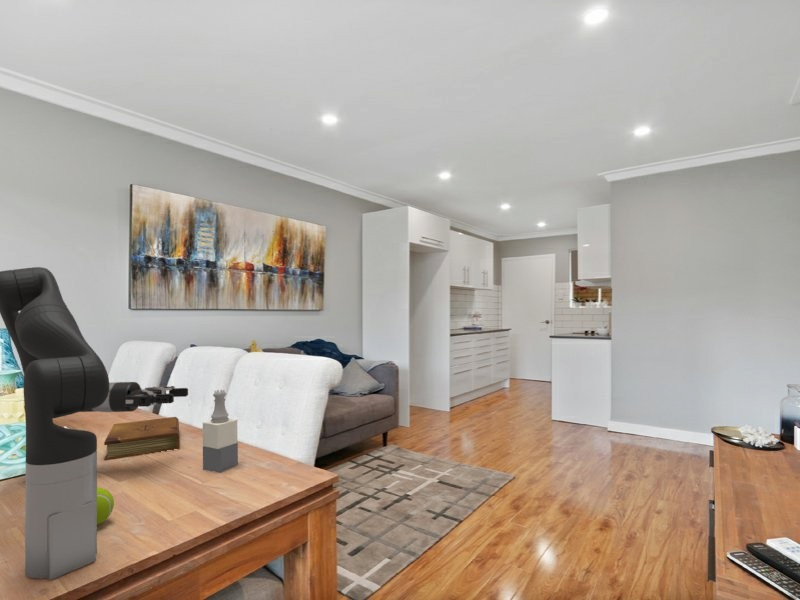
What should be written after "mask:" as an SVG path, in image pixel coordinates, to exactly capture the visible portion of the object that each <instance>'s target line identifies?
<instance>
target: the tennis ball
mask: <svg viewBox="0 0 800 600" xmlns="http://www.w3.org/2000/svg"><path fill="white" fill-rule="evenodd" d="M114 506H115V499H114V497H113V494H112V492H110V491H109V490H107V489H106V488H103V487H99V486H97V526H99V525H100V524H102V523H103V522H105V521H106V520H107V519H108V518H109V517H110V515H111V514H112V512H113V510H114Z"/></svg>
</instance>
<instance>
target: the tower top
mask: <svg viewBox="0 0 800 600" xmlns="http://www.w3.org/2000/svg"><path fill="white" fill-rule="evenodd" d="M235 443H238V419H235V418H229V419H228V421H226V422H223V423H212V422H211V420H207V421H203V422H202V447H203V446H206V447H210V448H215V449H220V448H223V447H226V446H229V445H232V444H235ZM238 444H239V443H238Z"/></svg>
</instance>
